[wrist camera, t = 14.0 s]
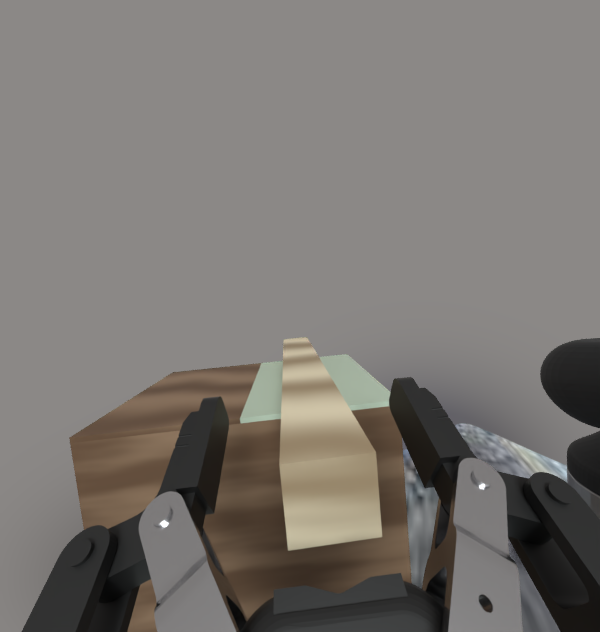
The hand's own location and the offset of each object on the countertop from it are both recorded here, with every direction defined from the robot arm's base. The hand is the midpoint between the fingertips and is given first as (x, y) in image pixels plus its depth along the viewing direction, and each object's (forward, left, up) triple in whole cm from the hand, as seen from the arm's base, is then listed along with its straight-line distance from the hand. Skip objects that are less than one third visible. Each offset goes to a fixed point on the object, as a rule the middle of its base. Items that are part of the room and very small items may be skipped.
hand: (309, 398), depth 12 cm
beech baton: (+5, -8, -4) cm, 10 cm away
